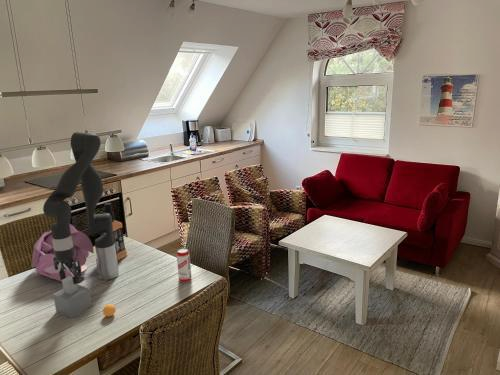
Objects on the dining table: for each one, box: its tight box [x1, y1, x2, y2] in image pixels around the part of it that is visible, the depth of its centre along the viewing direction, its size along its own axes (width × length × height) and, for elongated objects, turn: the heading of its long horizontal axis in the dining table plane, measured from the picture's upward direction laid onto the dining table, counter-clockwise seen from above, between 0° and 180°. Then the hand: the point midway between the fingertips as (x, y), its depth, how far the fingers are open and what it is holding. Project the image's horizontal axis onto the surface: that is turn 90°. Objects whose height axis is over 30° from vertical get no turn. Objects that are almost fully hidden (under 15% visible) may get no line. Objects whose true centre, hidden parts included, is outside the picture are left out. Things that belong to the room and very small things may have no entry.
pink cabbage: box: [30, 223, 95, 283], centre depth 196 cm, size 35×24×28 cm
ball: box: [102, 303, 117, 318], centre depth 161 cm, size 5×5×5 cm
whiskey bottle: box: [100, 202, 128, 262], centre depth 211 cm, size 10×10×32 cm
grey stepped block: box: [52, 276, 92, 319], centre depth 165 cm, size 10×10×15 cm
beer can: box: [176, 247, 192, 284], centre depth 186 cm, size 6×6×16 cm
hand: (69, 281), depth 163 cm, fingers open, 8 cm apart
